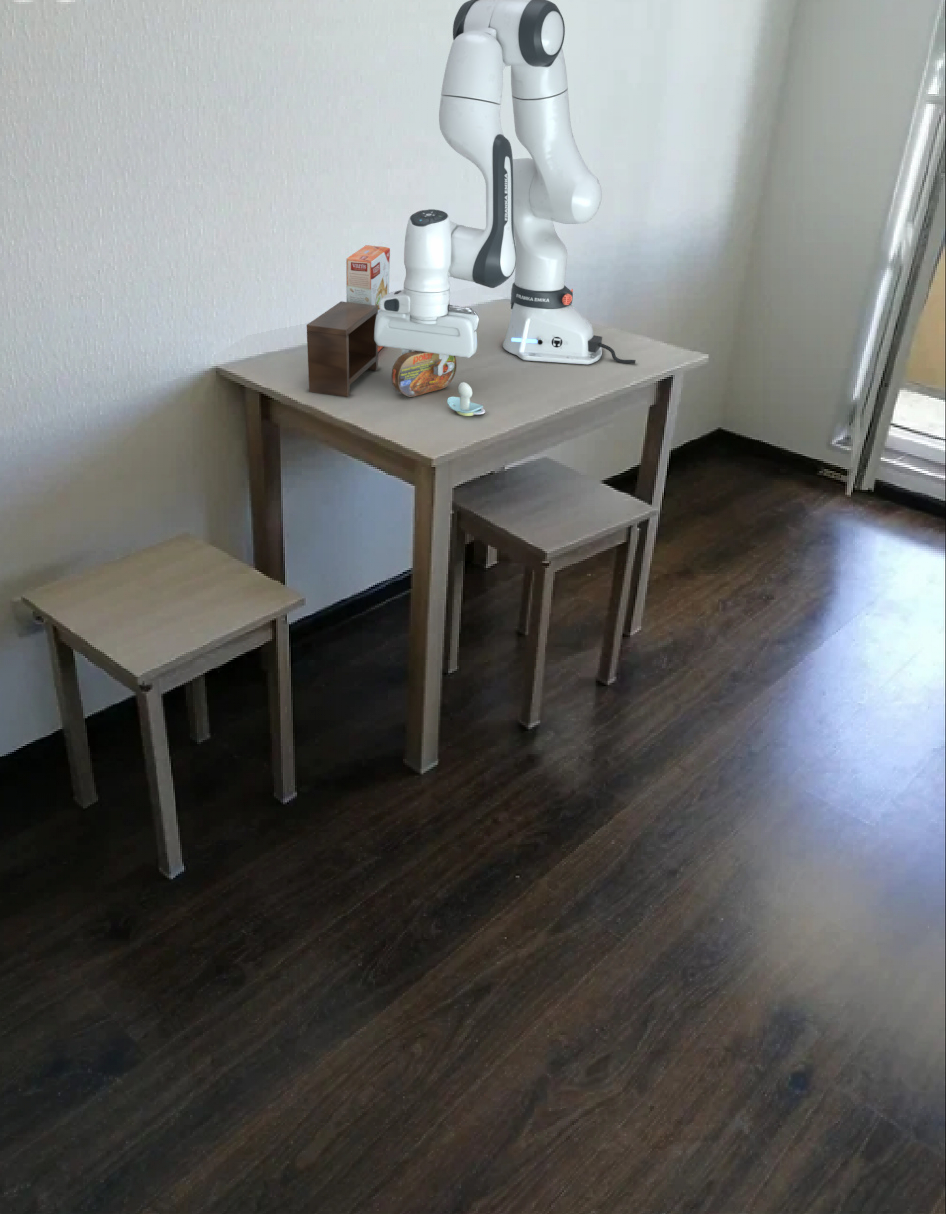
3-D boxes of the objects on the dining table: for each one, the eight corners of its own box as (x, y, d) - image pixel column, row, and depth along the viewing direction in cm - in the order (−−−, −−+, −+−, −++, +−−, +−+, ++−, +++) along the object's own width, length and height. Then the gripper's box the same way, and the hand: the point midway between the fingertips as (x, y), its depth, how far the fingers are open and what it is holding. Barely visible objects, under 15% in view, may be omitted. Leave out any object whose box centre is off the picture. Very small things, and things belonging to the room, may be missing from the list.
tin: (397, 400, 192) (400, 359, 187) (388, 395, 194) (389, 353, 189) (456, 386, 201) (459, 345, 196) (446, 380, 202) (449, 340, 198)
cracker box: (372, 361, 211) (372, 260, 200) (345, 358, 212) (343, 257, 201) (390, 342, 223) (391, 246, 211) (364, 339, 223) (364, 243, 212)
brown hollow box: (378, 368, 207) (377, 305, 200) (347, 397, 192) (346, 329, 185) (342, 364, 208) (340, 301, 201) (309, 391, 194) (306, 324, 187)
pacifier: (462, 404, 192) (442, 411, 188) (464, 372, 189) (444, 379, 185) (492, 414, 189) (473, 421, 184) (494, 382, 186) (475, 389, 181)
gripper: (483, 304, 188) (479, 374, 196) (381, 292, 192) (381, 361, 199) (475, 313, 183) (471, 384, 190) (371, 300, 187) (371, 370, 194)
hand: (424, 372), depth 195 cm, fingers closed on tin, 4 cm apart
